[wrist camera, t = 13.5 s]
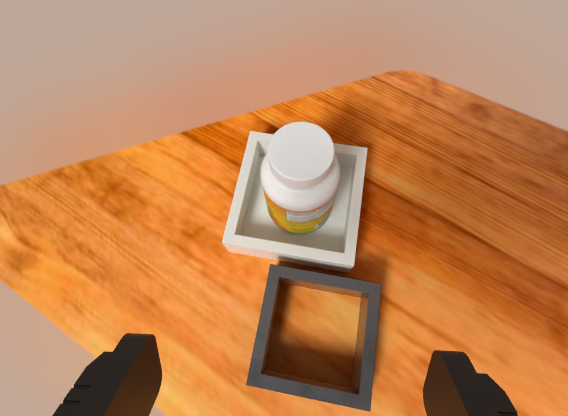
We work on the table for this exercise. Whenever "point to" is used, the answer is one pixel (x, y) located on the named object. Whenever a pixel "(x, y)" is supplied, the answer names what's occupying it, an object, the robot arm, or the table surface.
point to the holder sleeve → (365, 342)
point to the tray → (286, 247)
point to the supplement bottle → (300, 177)
